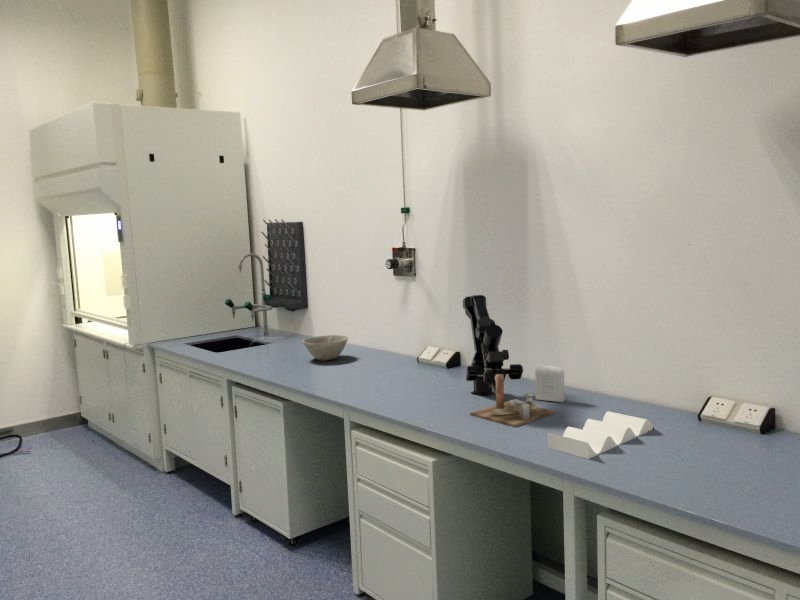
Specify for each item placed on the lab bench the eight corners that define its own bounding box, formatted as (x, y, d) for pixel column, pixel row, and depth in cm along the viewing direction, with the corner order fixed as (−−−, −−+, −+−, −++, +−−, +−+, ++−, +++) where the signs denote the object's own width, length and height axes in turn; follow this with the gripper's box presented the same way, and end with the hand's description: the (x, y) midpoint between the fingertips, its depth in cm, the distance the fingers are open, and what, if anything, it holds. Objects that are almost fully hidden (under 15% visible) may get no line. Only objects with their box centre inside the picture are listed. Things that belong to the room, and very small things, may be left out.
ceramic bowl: (331, 352, 340) (330, 333, 339) (358, 358, 323) (357, 338, 321) (294, 359, 326) (292, 339, 325) (319, 366, 309) (318, 345, 307)
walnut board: (470, 415, 222) (470, 412, 222) (510, 402, 235) (510, 400, 235) (514, 427, 208) (514, 424, 208) (554, 413, 220) (554, 410, 220)
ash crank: (533, 408, 223) (532, 370, 221) (538, 412, 218) (537, 373, 217) (491, 412, 220) (490, 374, 219) (495, 416, 216) (494, 377, 214)
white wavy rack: (654, 430, 201) (654, 414, 200) (588, 461, 178) (588, 442, 178) (615, 421, 211) (615, 406, 210) (548, 450, 188) (547, 432, 187)
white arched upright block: (566, 400, 236) (565, 365, 234) (562, 403, 232) (562, 368, 230) (537, 397, 241) (537, 363, 239) (533, 400, 237) (533, 366, 236)
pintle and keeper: (529, 410, 222) (529, 392, 222) (542, 415, 216) (542, 397, 215) (510, 413, 219) (510, 395, 219) (523, 419, 213) (522, 400, 212)
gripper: (466, 342, 222) (471, 382, 212) (521, 340, 223) (529, 380, 213) (463, 360, 231) (468, 400, 221) (516, 358, 232) (524, 398, 222)
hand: (497, 394), depth 219 cm, fingers closed, pressing on ash crank
